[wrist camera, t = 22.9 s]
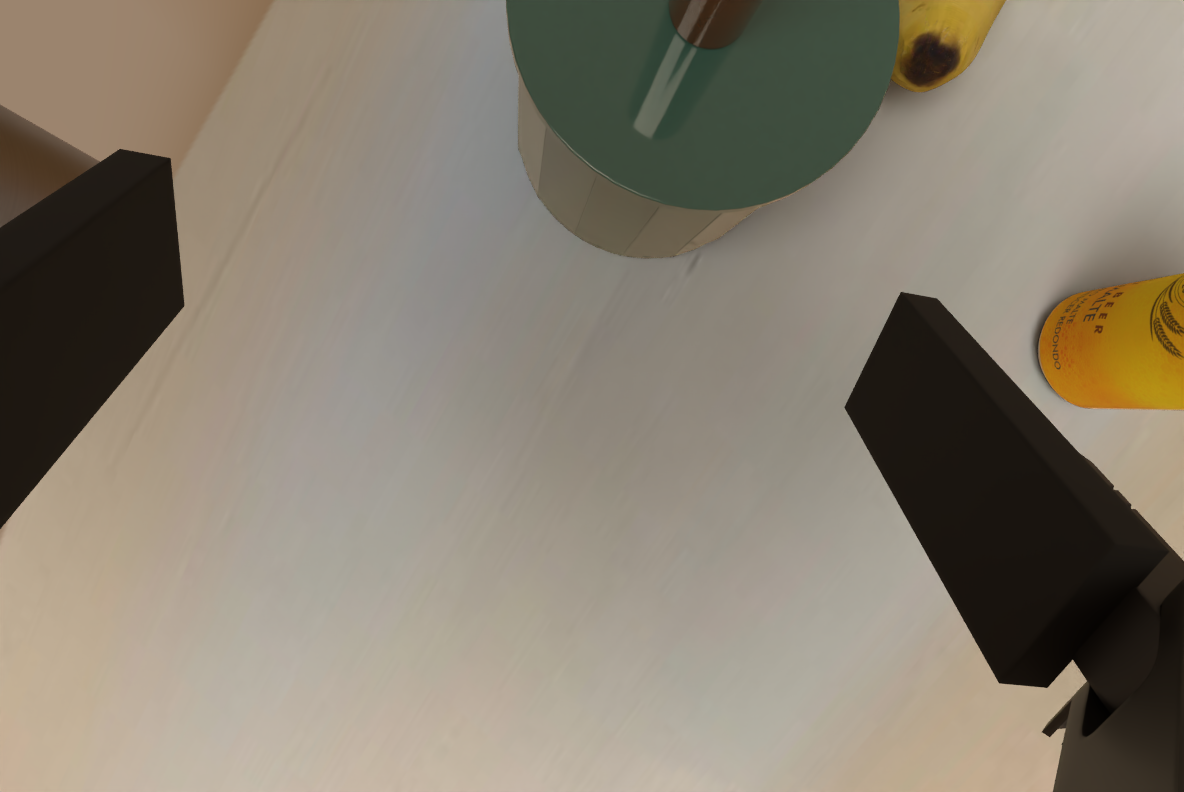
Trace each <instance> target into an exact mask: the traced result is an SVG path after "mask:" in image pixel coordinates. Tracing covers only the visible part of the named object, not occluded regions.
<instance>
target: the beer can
mask: <svg viewBox="0 0 1184 792" xmlns="http://www.w3.org/2000/svg"><path fill="white" fill-rule="evenodd" d="M1038 358H1039V363H1040V367H1041V369H1042V372H1043V374H1044V376H1045V377H1046V379H1047V381H1048V382H1049V384H1050V385H1051V387H1052V388H1053V389H1054V390H1055V392H1056V393H1057V394H1059V395H1060V396H1061V397H1062V398H1063V399H1065V400H1066V401H1068V402H1070V403H1072V404H1074V405H1076V406H1079V407H1083V408H1089V409H1133V410H1184V273H1183V274H1177V275H1172V276H1167V277H1161V278H1156V279H1150V280H1145V281H1140V282H1134V283H1129V284H1124V285H1118V286H1113V287H1107V288H1102V289H1097V290H1091V291H1086V292H1082V293H1078V294H1075V295H1072V296H1071V297H1069V298H1067V299H1065V300H1064V301H1062V302H1061V303H1060V304H1059V305H1058V306H1057V307H1056V308H1055V309H1054V310H1053V311H1052V312H1051V314H1050V315H1049V317H1048V318H1047V320H1046V322H1045V324H1044V327H1043V329H1042V332H1041V334H1040V338H1039V343H1038Z"/></svg>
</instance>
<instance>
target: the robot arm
mask: <svg viewBox="0 0 1184 792" xmlns="http://www.w3.org/2000/svg"><path fill="white" fill-rule="evenodd" d="M183 307H184V295H183V285H182V274H181V264H180V253H179V242H178V232H177V221H176V211H175V200H174V190H173V179H172V168H171V159H170V158H166V157H161V156H155V155H150V154H145V153H139V152H134V151H128V150H123V149H119V150H118V151H116V152H115V153H113V154H112V155H110V156H109V157H107V158H106V159H104V160H103V161H101V162H100V163H98V164H97V165H95V166H94V167H92V168H90V169H89V170H87V171H86V172H84V173H83V174H81V175H80V176H78V177H77V178H75V179H74V180H72V181H71V182H69V183H68V184H66V185H65V186H63V187H62V188H60V189H59V190H57V191H55V192H54V193H52V194H51V195H49V196H48V197H46V198H45V199H43V200H42V201H40V202H39V203H37V204H36V205H34V206H33V207H31V208H30V209H28V210H27V211H25V212H24V213H22V214H20V215H19V216H17V217H16V218H14V219H13V220H11V221H10V222H8V223H7V224H5V225H4V226H2V227H1V228H0V529H1V528H2V526H3V525H4V524H5V523H6V521H7V520H8V519H9V518H10V517H11V515H12V514H13V513H14V512H15V511H16V509H17V508H18V507H19V506H20V504H21V503H22V502H23V501H24V500H25V498H26V497H27V496H28V495H29V494H30V492H31V491H32V490H33V489H34V488H35V486H36V485H37V484H38V483H39V481H40V480H41V479H42V478H43V477H44V475H45V474H46V473H47V472H48V471H49V469H50V468H51V467H52V466H53V465H54V463H55V462H56V461H57V460H58V458H59V457H60V456H61V455H62V454H63V452H64V451H65V450H66V449H67V448H68V446H69V445H70V444H71V443H72V441H73V440H74V439H75V438H76V437H77V435H78V434H79V433H80V432H81V431H82V429H83V428H84V427H85V426H86V425H87V423H88V422H89V421H90V420H91V418H92V417H93V416H94V415H95V414H96V412H97V411H98V410H99V409H100V408H101V406H102V405H103V404H104V403H105V402H106V400H107V399H108V398H109V397H110V395H111V394H112V393H113V392H114V391H115V389H116V388H117V387H118V386H119V385H120V383H121V382H122V381H123V380H124V378H125V377H126V376H127V375H128V374H129V372H130V371H131V370H132V369H133V368H134V366H135V365H136V364H137V363H138V362H139V360H140V359H141V358H142V357H143V355H144V354H145V353H146V352H147V351H148V349H149V348H150V347H151V346H152V345H153V343H154V342H155V341H156V340H157V338H158V337H159V336H160V335H161V334H162V332H163V331H164V330H165V329H166V328H167V326H168V325H169V324H170V323H171V322H172V320H173V319H174V318H175V317H176V315H177V314H178V313H179V312H180V311H181V309H182V308H183ZM844 408H845V409H846V411H847V413H848V415H849V416H850V418H851V420H852V422H853V424H854V425H855V427H856V429H857V431H858V432H859V434H860V436H861V438H862V440H863V441H864V443H865V445H866V447H867V449H868V450H869V452H870V454H871V456H872V457H873V459H874V461H875V463H876V465H877V466H878V468H879V470H880V472H881V474H882V475H883V477H884V479H885V481H886V482H887V484H888V486H889V488H890V490H891V491H892V493H893V495H894V497H895V498H896V500H897V502H898V504H899V506H900V507H901V509H902V511H903V513H904V515H905V516H906V518H907V520H908V522H909V523H910V525H911V527H912V529H913V531H914V532H915V534H916V536H917V538H918V539H919V541H920V543H921V545H922V547H923V548H924V550H925V552H926V554H927V556H928V557H929V559H930V561H931V563H932V564H933V566H934V568H935V570H936V572H937V573H938V575H939V577H940V579H941V581H942V582H943V584H944V586H945V588H946V589H947V591H948V593H949V595H950V597H951V598H952V600H953V602H954V604H955V605H956V607H957V609H958V611H959V613H960V614H961V616H962V618H963V620H964V622H965V623H966V625H967V627H968V629H969V630H970V632H971V634H972V636H973V638H974V639H975V641H976V643H977V645H978V646H979V648H980V650H981V652H982V654H983V655H984V657H985V659H986V661H987V663H988V664H989V666H990V668H991V670H992V671H993V673H994V675H995V677H996V679H997V680H998V682H999V683H1002V684H1013V685H1023V686H1034V687H1045V688H1047V687H1048V686H1049V685H1050V684H1051V683H1052V682H1053V681H1054V680H1055V679H1056V677H1057V676H1058V675H1059V674H1060V673H1061V672H1062V671H1063V670H1064V669H1065V667H1066V666H1067V665H1068V664H1069V663H1070V662H1071V661H1072V660H1074V662H1075V663H1076V665H1077V666H1078V668H1079V669H1080V671H1081V672H1082V674H1083V675H1084V677H1085V678H1086V680H1087V682H1086V683H1085V684H1084V685H1083V686H1082V687H1081V688H1080V689H1079V690H1078V691H1077V692H1076V694H1075V695H1074V696H1073V697H1072V698H1071V699H1070V700H1069V701H1068V702H1067V703H1066V704H1065V705H1064V706H1063V707H1062V708H1061V710H1060V711H1059V712H1058V713H1057V714H1056V715H1055V716H1054V717H1053V718H1052V719H1051V720H1050V721H1049V722H1048V723H1047V725H1046V726H1045V728H1044V729H1043V731H1042V732H1043V733H1044V734H1046V735H1047V736H1049V737H1050V736H1051V735H1052V734H1053V733H1054V732H1055V731H1056V730H1057V729H1062V728H1066V730H1065V735H1064V740H1063V743H1062V750H1061V755H1060V760H1059V765H1058V769H1057V774H1056V779H1055V784H1054V789H1053V792H1184V561H1183V560H1182V559H1181V558H1180V557H1179V556H1178V554H1177V553H1176V552H1175V551H1174V550H1173V549H1172V548H1171V547H1170V546H1169V545H1168V544H1167V543H1166V542H1165V540H1164V539H1163V538H1162V537H1161V536H1160V535H1159V534H1158V533H1157V532H1156V531H1155V530H1154V529H1153V528H1152V526H1151V525H1150V524H1149V523H1148V522H1147V521H1146V520H1145V519H1144V518H1143V517H1142V516H1141V515H1140V514H1139V512H1138V511H1137V510H1135V509H1131V504H1130V503H1129V502H1128V501H1127V499H1126V498H1125V497H1124V496H1123V495H1122V494H1121V493H1120V492H1119V491H1118V490H1113V487H1114V485H1113V484H1112V483H1111V482H1110V481H1109V480H1108V479H1107V478H1106V477H1105V476H1104V475H1103V474H1102V473H1101V471H1100V470H1099V469H1098V468H1097V467H1096V466H1095V465H1094V464H1093V463H1092V462H1091V461H1089V460H1088V459H1087V458H1085V457H1084V456H1082V455H1081V454H1080V453H1079V452H1078V451H1077V450H1076V449H1075V448H1074V447H1073V446H1072V445H1071V444H1070V443H1069V442H1068V440H1067V439H1066V438H1065V437H1064V436H1063V435H1062V434H1061V433H1060V432H1059V431H1058V430H1057V429H1056V427H1055V426H1054V425H1053V424H1052V423H1051V422H1050V421H1049V420H1048V419H1047V418H1046V417H1045V415H1044V414H1043V413H1042V412H1041V411H1040V410H1039V409H1038V408H1037V407H1036V406H1035V405H1034V404H1033V402H1032V401H1031V400H1030V399H1029V398H1028V397H1027V396H1026V395H1025V394H1024V393H1023V392H1022V390H1021V389H1020V388H1019V387H1018V386H1017V385H1016V384H1015V383H1014V382H1013V381H1012V380H1011V379H1010V377H1009V376H1008V375H1007V374H1006V373H1005V372H1004V371H1003V370H1002V369H1001V368H1000V367H999V365H998V364H997V363H996V362H995V361H994V360H993V359H992V358H991V357H990V356H989V355H988V353H987V352H986V351H985V350H984V349H983V348H982V347H981V346H980V345H979V344H978V343H977V342H976V340H975V339H974V338H973V337H972V336H971V335H970V334H969V333H968V332H967V331H966V330H965V328H964V327H963V326H962V325H961V324H960V323H959V322H958V321H957V320H956V319H955V318H954V317H953V315H952V314H951V313H950V312H949V311H948V310H947V309H946V308H945V307H944V306H943V305H942V303H941V302H940V301H939V300H938V299H937V298H931V297H926V296H920V295H915V294H909V293H904V292H901V293H900V295H899V297H898V299H897V301H896V303H895V305H894V307H893V309H892V311H891V313H890V315H889V317H888V319H887V321H886V323H885V326H884V328H883V330H882V332H881V334H880V336H879V338H878V340H877V342H876V344H875V346H874V348H873V350H872V352H871V354H870V356H869V358H868V360H867V362H866V364H865V366H864V368H863V370H862V373H861V375H860V377H859V379H858V381H857V383H856V385H855V387H854V389H853V391H852V393H851V395H850V397H849V399H848V401H847V403H846V405H845V407H844Z"/></svg>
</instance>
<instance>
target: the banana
mask: <svg viewBox="0 0 1184 792" xmlns="http://www.w3.org/2000/svg"><path fill="white" fill-rule="evenodd" d="M1005 1H1006V0H899V8H900V26H899V42H898V49H897V55H896V62H895V66H894V69H893V73H892V76H891V79H892V80H893V81H894V82H896V83H897V84H898V85H900V86H902V87H903V88H905V89H908V90H910V91H914V92H925V91H929V90H931V89H934V88H936V87H938V86H940V85H943V84H945V83H946V82H948V81H950V80H952V79H953V78H955V77H957V76H958V75H959V74H961V73H962V72H963V71H964V70H965V69H966V68H967V67H968V66H969V65H970V64H971V62H972V61H973V60H974V58H975V57H976V55H977V53H978V51H979V50H980V48H981V46H982V44H983V42H984V40H985V38H986V36H987V34H988V31H989V29H990V28H991V26H992V24H993V22H994V20H995V18H996V16H997V15H998V13H999V11H1000V10H1001V8H1002V6H1003V4H1004V3H1005Z"/></svg>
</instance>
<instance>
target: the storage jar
mask: <svg viewBox="0 0 1184 792" xmlns="http://www.w3.org/2000/svg"><path fill="white" fill-rule="evenodd" d="M518 150H519V152H520V155H521V157H522V160H523V163H524V166H525V169H526V172H527V175H528V177H529V180H530V182H531V184H532V186H533V188H534V190H535V192H536V194H537V196H538V198H539V199H540V200H541V201H542V203H543V204H544V206H545V207H546V208H547V209H548V210H549V211H550V213H551V214H552V215H553V216H554V217H555V219H557V220H558V221H559V222H560V223H561V224H562V225H563V226H564V227H565V228H566V229H568V230H569V231H570V232H572V233H573V234H574V235H576V236H577V237H579V238H580V239H582V240H583V241H585V242H587V243H589V244H591V245H593V246H595V247H597V248H600V249H602V250H605V251H608V252H610V253H613V254H618V255H622V256H627V257H635V258H663V257H672V256H673V257H674V256H677V255H679V254H682V253H685V252H688V251H692V250H694V249H696V248H698V247H701V246H703V245H705V244H707V243H709V242H712V241H715V240H717V239H718V238H720V237H722V236H723V235H724V234H725V233H727V232H728V231H729V230H731V229H732V228H733V227H734V226H736V225H737V224H738V223H740V222H741V221H742V220H743V219H745V218H746V217H747V216H749V215H750V214H751V213H753V212H754V211H755V210H756V209H758V208H759V207H758V208H754V209H749V210H744V211H740V212H731V213H719V214H702V213H686V212H681V211H675V210H670V209H665V208H661V207H657V206H654V205H651V204H648V203H645V202H642V201H639V200H636V199H634V198H632V197H630V196H628V195H626V194H624V193H622V192H620V191H618V190H616V189H614V188H612V187H610V186H609V185H607V184H606V183H604V182H603V181H601V180H600V179H598V178H596V177H595V176H593V175H592V174H591V173H589V172H588V171H587V170H586V169H585V168H583V167H582V166H581V165H580V164H579V163H578V162H576V161H575V160H574V159H573V158H572V157H571V156H570V155H569V154H568V153H567V152H566V151H565V150H564V149H563V148H562V147H561V145H560V144H559V143H558V142H557V141H556V140H555V139H554V138H553V137H552V135H551V134H550V132H549V131H548V130H547V128H546V127H545V125H544V124H543V122H542V121H541V120H540V118H539V117H538V115H537V114H536V112H535V110H534V108H533V106H532V104H531V102H530V100H529V98H528V97H527V95H526V93H525V91H524V88H523V85H522V83H521V80H520V78H519V84H518Z"/></svg>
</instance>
